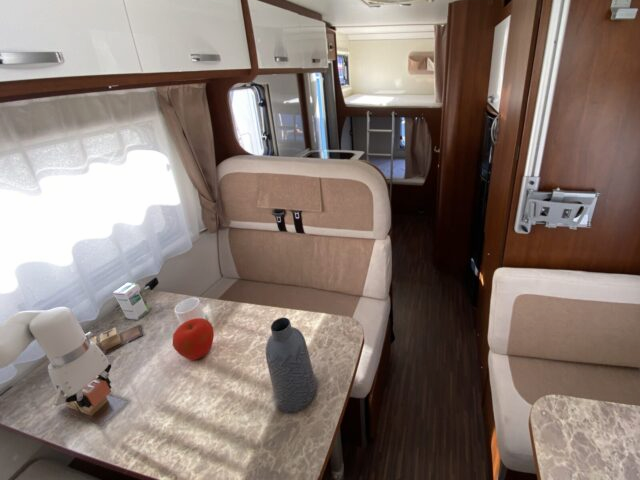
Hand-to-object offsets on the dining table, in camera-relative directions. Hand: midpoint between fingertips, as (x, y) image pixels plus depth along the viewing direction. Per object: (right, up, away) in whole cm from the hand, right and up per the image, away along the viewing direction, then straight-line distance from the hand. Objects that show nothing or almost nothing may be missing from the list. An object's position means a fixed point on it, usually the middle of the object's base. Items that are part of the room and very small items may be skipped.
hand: (96, 396), depth 86 cm
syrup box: (-20, +7, +40) cm, 45 cm away
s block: (0, 0, 0) cm, 0 cm away
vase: (+56, -4, +6) cm, 56 cm away
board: (-18, +1, +26) cm, 32 cm away
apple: (+17, +1, +21) cm, 27 cm away
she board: (-5, -7, +5) cm, 10 cm away
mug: (+6, +6, +34) cm, 35 cm away
